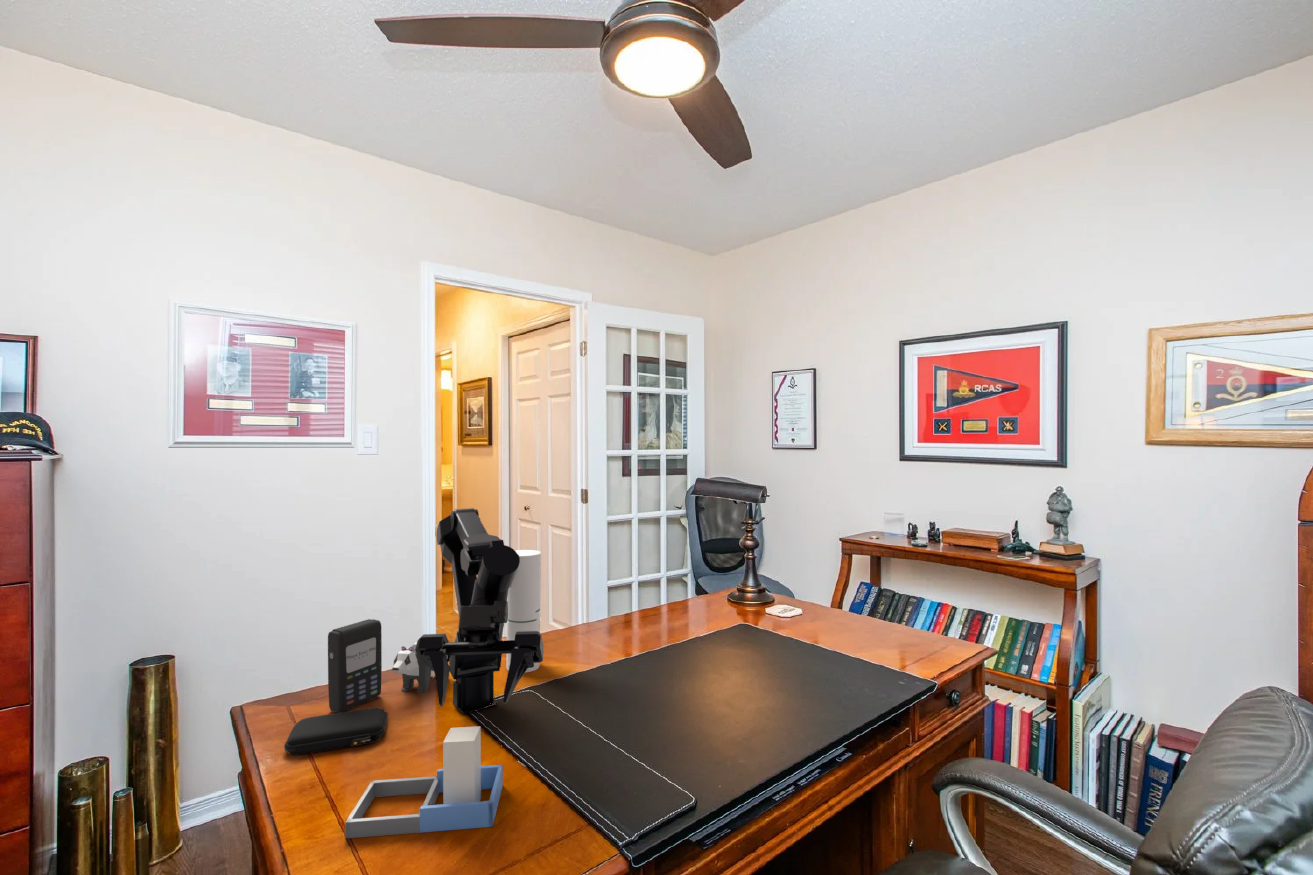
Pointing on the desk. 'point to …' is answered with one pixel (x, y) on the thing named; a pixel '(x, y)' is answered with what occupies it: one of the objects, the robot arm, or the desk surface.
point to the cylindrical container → (525, 598)
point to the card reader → (354, 664)
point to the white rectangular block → (462, 765)
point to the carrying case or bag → (336, 731)
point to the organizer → (425, 807)
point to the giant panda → (412, 669)
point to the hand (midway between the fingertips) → (473, 704)
